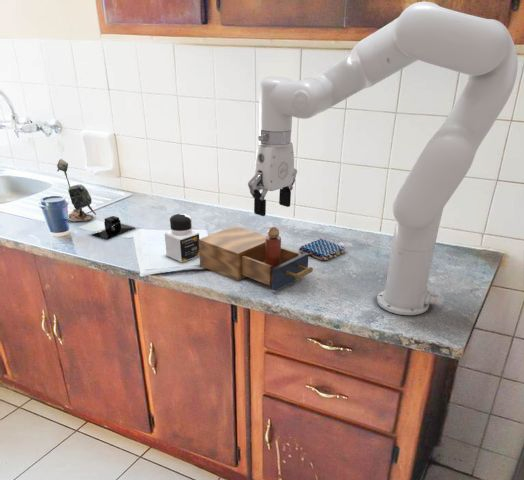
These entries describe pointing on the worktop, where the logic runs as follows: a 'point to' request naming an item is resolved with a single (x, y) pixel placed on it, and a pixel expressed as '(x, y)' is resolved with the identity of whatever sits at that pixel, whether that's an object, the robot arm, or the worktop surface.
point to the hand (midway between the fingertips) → (272, 210)
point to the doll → (273, 247)
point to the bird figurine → (77, 197)
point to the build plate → (112, 228)
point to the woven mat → (322, 249)
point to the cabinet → (228, 250)
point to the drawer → (280, 275)
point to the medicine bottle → (181, 239)
